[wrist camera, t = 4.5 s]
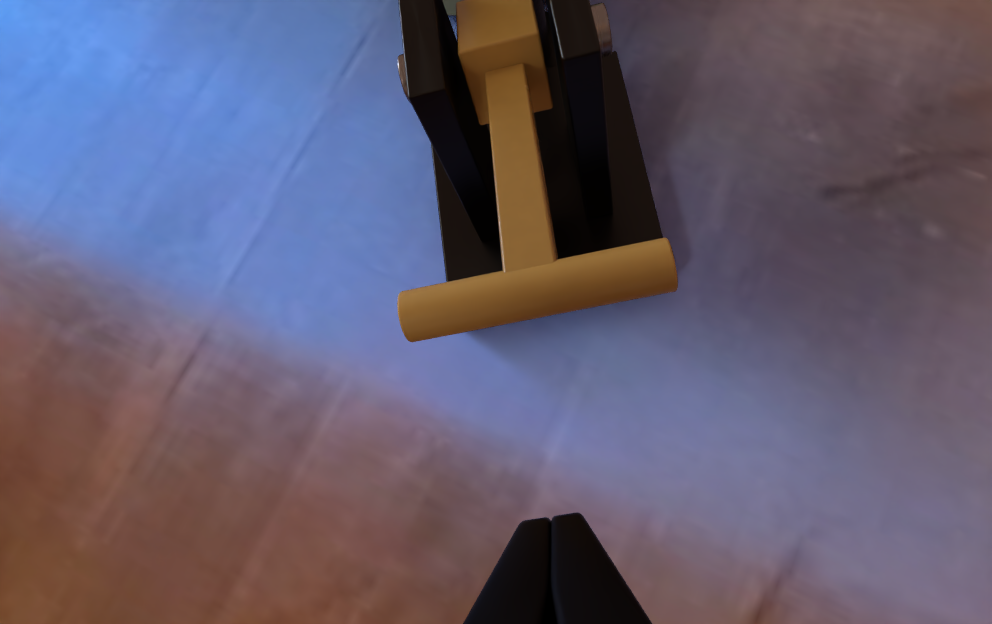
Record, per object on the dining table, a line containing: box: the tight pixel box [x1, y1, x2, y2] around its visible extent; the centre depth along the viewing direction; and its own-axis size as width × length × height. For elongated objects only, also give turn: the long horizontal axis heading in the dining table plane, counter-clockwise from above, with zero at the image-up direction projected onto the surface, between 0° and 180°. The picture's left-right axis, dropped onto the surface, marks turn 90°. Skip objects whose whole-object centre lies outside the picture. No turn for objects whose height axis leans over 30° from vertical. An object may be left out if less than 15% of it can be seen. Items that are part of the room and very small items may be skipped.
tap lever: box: [397, 0, 678, 342], centre depth 17 cm, size 11×6×2 cm, turn 8°
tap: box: [397, 0, 663, 282], centre depth 22 cm, size 10×8×10 cm
